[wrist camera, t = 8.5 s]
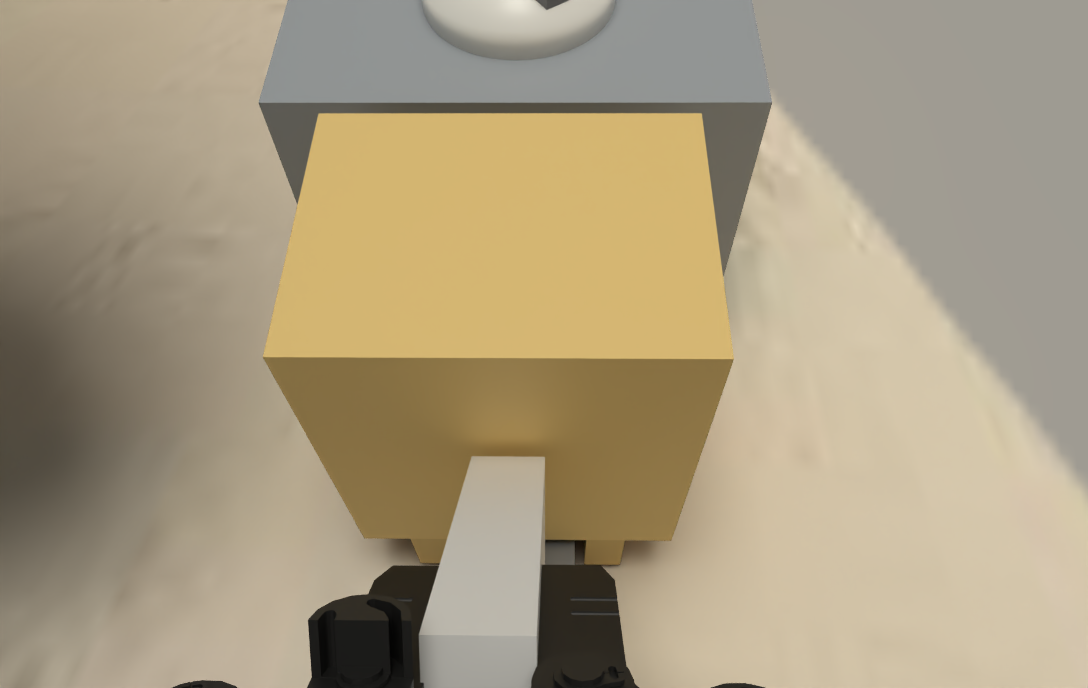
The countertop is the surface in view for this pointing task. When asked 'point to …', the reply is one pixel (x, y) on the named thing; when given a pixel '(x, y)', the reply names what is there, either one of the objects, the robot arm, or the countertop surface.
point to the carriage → (506, 316)
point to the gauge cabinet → (527, 70)
